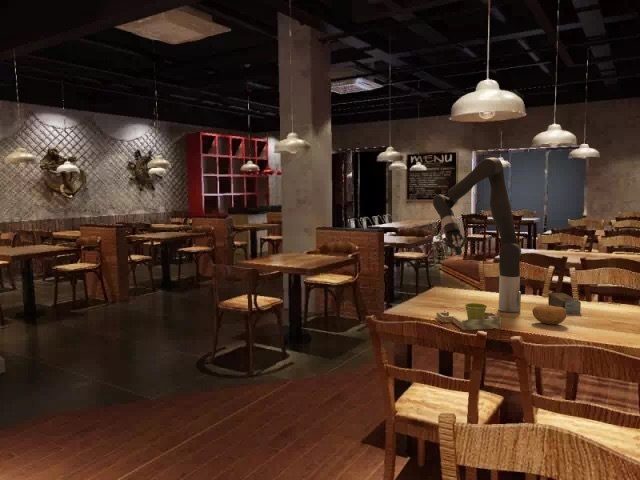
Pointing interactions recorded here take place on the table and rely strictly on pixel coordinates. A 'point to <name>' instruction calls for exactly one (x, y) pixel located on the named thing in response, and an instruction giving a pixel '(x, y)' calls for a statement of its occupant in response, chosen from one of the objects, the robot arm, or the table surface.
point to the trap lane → (472, 321)
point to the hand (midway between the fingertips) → (459, 254)
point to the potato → (549, 314)
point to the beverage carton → (564, 302)
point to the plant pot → (475, 311)
